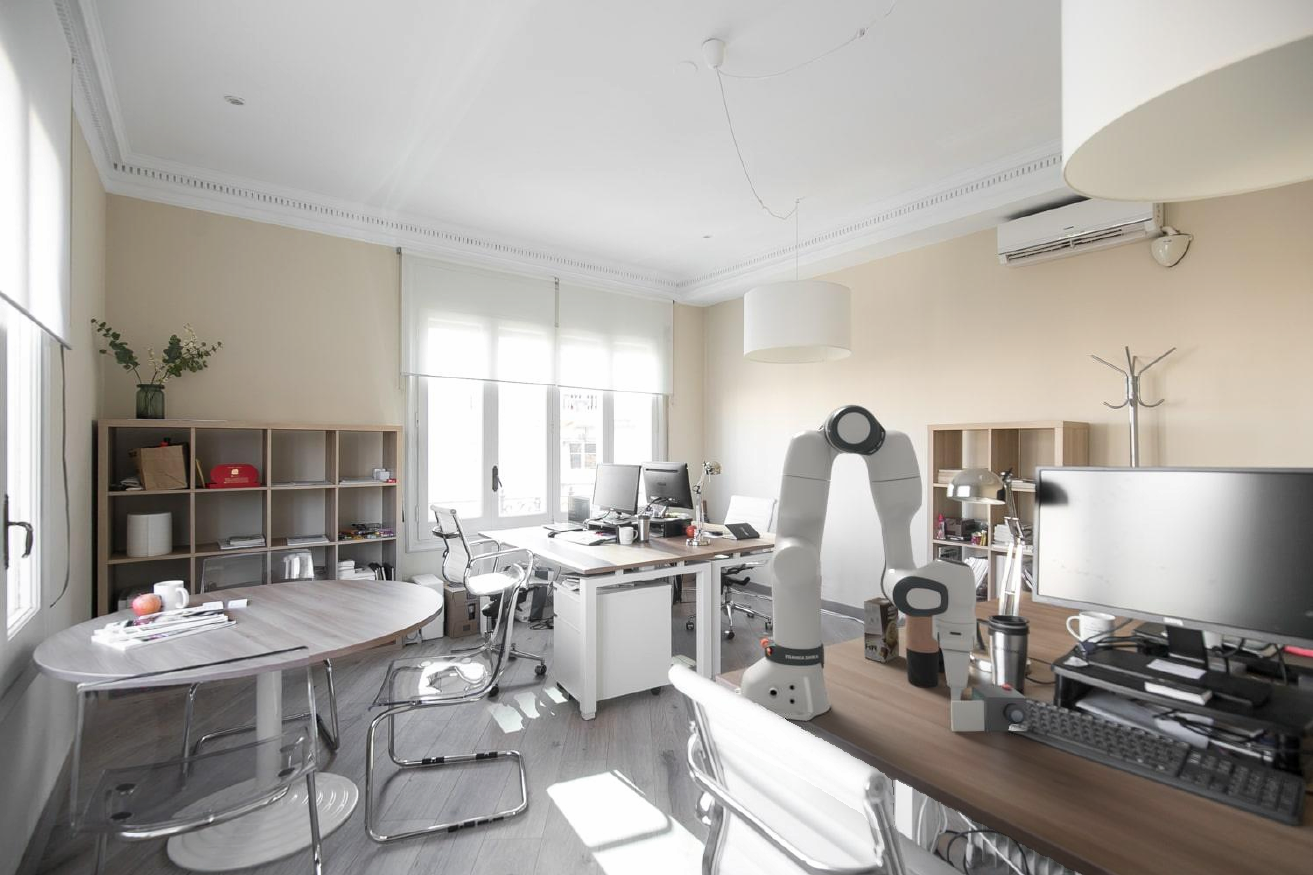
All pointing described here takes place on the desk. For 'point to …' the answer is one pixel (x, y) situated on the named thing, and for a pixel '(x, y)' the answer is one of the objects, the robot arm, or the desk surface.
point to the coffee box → (881, 630)
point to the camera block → (1001, 705)
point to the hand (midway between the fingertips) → (954, 694)
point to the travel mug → (921, 652)
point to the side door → (969, 715)
